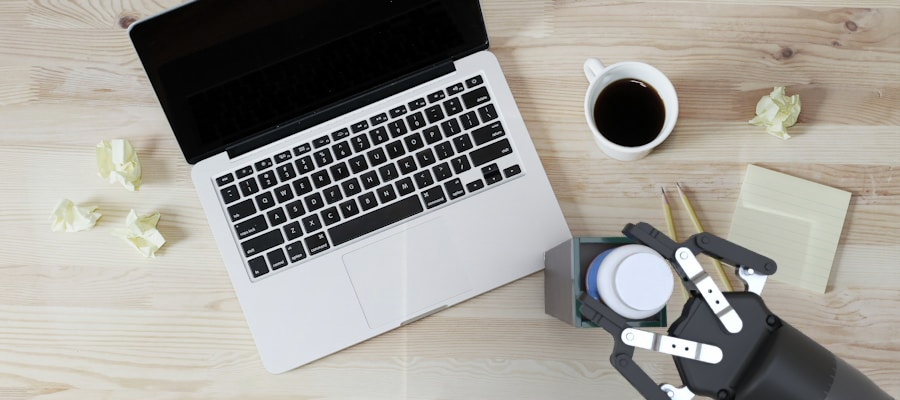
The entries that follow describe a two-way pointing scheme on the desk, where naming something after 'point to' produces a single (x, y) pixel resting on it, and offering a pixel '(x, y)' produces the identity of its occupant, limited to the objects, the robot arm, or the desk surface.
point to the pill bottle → (630, 281)
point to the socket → (576, 284)
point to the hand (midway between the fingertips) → (603, 261)
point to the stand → (569, 277)
